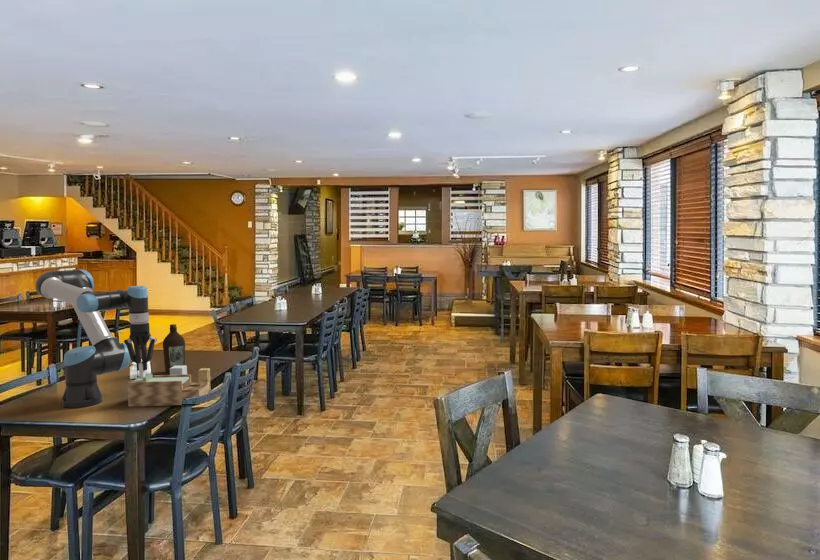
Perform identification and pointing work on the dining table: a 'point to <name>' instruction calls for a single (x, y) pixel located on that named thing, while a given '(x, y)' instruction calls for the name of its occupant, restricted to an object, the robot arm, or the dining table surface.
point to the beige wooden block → (204, 376)
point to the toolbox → (164, 391)
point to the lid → (161, 379)
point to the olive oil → (173, 349)
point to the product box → (178, 370)
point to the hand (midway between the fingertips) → (142, 377)
